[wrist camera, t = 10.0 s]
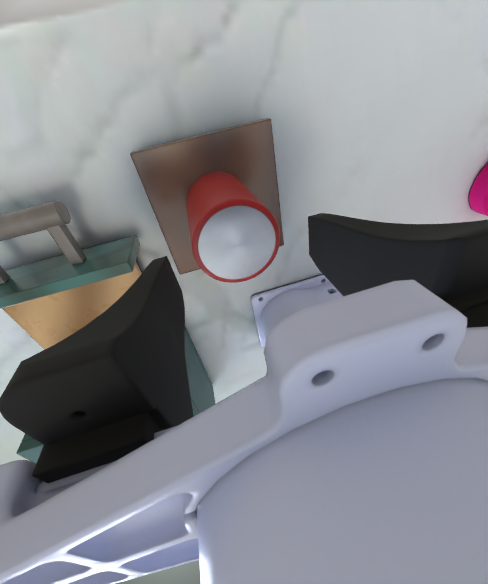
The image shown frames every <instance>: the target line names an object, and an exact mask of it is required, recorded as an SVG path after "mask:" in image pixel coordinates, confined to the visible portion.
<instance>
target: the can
mask: <svg viewBox="0 0 488 584" xmlns="http://www.w3.org/2000/svg"><path fill="white" fill-rule="evenodd" d="M186 209H187V216H188V224H189V231H190V238H191V245H192V252H193V255H194V258H195V260H196V262H197V264H198V266H199V267H200V268H201V269H202V270H203V271H204V272H205V273H206V274H207V275H209V276H210V277H212V278H214V279H216V280H219V281H223V282H242V281H246V280H249V279H251V278H254V277H256V276H257V275H259V274H260V273H262V272H263V271H264V270H265V269H266V268H267V267H268V266H269V265H270V264H271V262H272V261H273V259H274V258H275V256H276V254H277V251H278V248H279V243H280V231H279V226H278V223H277V221H276V219H275V217H274V216H273V214H272V213H271V212H270V211H269V210H268V208H267V207H266V206H265V205H264V204H263V203H262V202H261V201H260V200H259V199H258V198H257V197H256V196H255V195H254V194H253V193H252V192H251V191H250V190H249V189H248V188H247V187H246V186H245V185H244V184H243V183H242V182H241V181H240V180H239V179H238V178H237V177H235V176H233V175H231V174H229V173H226V172H211V173H208V174H205V175H203V176H201V177H200V178H199V179H197V180H196V181H195V182H194V184H193V185H192V186H191V188H190V190H189V192H188V195H187V200H186Z"/></svg>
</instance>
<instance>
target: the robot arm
mask: <svg viewBox="0 0 488 584" xmlns="http://www.w3.org/2000/svg"><path fill="white" fill-rule="evenodd" d="M308 228H309V255H310V256H311V258H312V260H313V261H314V263H315V264H316V266H317V267H318V269H319V270H320V271H321V272H322V273H323V275H321V276H318V277H314V278H311V279H307V280H304V281H301V282H297V283H294V284H290V285H287V286H284V287H280V288H277V289H273V290H270V291H267V292H263V293H260V294H257V295H254V296H252V297H251V303H252V307H253V312H254V316H255V321H256V325H257V330H258V334H259V339H260V343H261V346H262V347H265V348H264V355H265V360H266V365H267V374H266V376H264V377H262V378H261V379H259V380H257V381H255V382H254V383H252V384H250V385H248V386H247V387H245V388H243V389H241V390H240V391H238V392H236V393H234V394H233V395H231V396H229V397H227V398H226V399H224V400H222V401H220V402H218V403H217V404H215V405H213V406H211V407H210V408H208V409H206V410H204V411H203V412H201V413H199V414H197V415H196V416H194V414H193V408H192V401H191V395H190V388H189V381H188V374H187V366H186V358H185V308H184V301H183V295H182V290H181V288H180V286H179V283H178V281H177V279H176V276H175V274H174V272H173V269H172V267H171V265H170V262H169V260H168V258H167V256H165V257H162V258H158V259H155V260H153V261H152V262H151V263H150V264H149V265H148V266H147V268H146V269H145V270H144V271H143V273H142V274H141V275H140V276H139V277H138V279H137V280H136V281H135V282H134V283H133V284H132V286H131V287H130V288H129V289H128V290H127V291H126V292H125V293H124V294H123V295H122V296H121V297H120V298H119V299H118V300H117V301H116V302H115V303H114V304H113V305H112V306H110V307H109V308H108V309H107V310H106V311H104V312H103V313H102V314H101V315H99V316H98V317H96V318H95V319H94V320H92V321H91V322H90V323H88V324H87V325H86V326H84V327H83V328H81V329H80V330H78V331H76V332H75V333H73V334H72V335H70V336H68V337H67V338H65V339H63V340H62V341H60V342H58V343H56V344H55V345H53V346H51V347H49V348H47V349H45V350H43V351H41V352H40V353H38V354H36V355H34V356H32V357H30V358H28V359H26V360H24V361H22V362H21V363H20V365H19V367H18V368H17V370H16V372H15V373H14V375H13V377H12V379H11V380H10V382H9V384H8V385H7V387H6V389H5V391H4V392H3V394H2V396H1V397H0V412H1V414H2V416H3V417H4V418H5V419H6V420H7V421H8V422H9V423H10V424H12V425H13V426H15V427H16V428H18V429H19V430H21V431H23V432H24V433H26V434H27V435H29V436H31V437H32V438H34V439H35V440H37V441H39V442H40V443H42V444H44V445H43V448H42V450H41V453H40V456H39V458H38V461H37V464H35V463H33V462H31V461H27V460H17V461H12V462H9V463H6V464H3V465H0V584H115V583H118V582H122V581H126V580H129V579H133V578H136V577H140V576H143V575H147V574H150V573H154V572H157V571H161V570H164V569H168V568H171V567H175V566H179V565H182V564H186V563H189V562H192V561H196V560H200V576H201V584H488V220H482V221H474V222H462V223H450V224H396V223H383V222H375V221H368V220H362V219H356V218H350V217H345V216H339V215H333V214H325V213H320V214H317V215H313V216H309V217H308ZM322 279H323V280H322ZM321 280H322V281H321ZM260 297H262V298H261V299H259V298H260Z"/></svg>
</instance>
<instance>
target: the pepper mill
mask: <svg viewBox="0 0 488 584" xmlns="http://www.w3.org/2000/svg"><path fill="white" fill-rule="evenodd" d="M469 203H470V207H471V208H472V210H474V211H475V212H478V213H481V214H484V215H487V216H488V163H487V164H486V165H485V167H484V168H483V169H482V170H481V172H480V173H479V174H478V176H477V178H476V179H475V181H474V183H473V185H472V188H471V191H470V194H469Z"/></svg>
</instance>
